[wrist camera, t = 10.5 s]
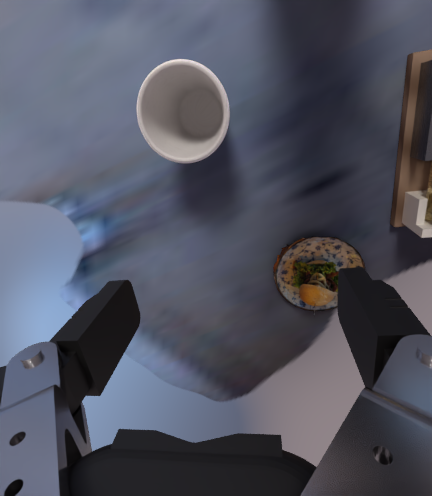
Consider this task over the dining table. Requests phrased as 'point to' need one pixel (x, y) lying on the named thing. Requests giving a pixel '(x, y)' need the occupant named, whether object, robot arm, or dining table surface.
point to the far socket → (416, 213)
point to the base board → (409, 142)
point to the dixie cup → (183, 111)
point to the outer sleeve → (423, 116)
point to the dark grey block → (429, 197)
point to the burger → (314, 271)
